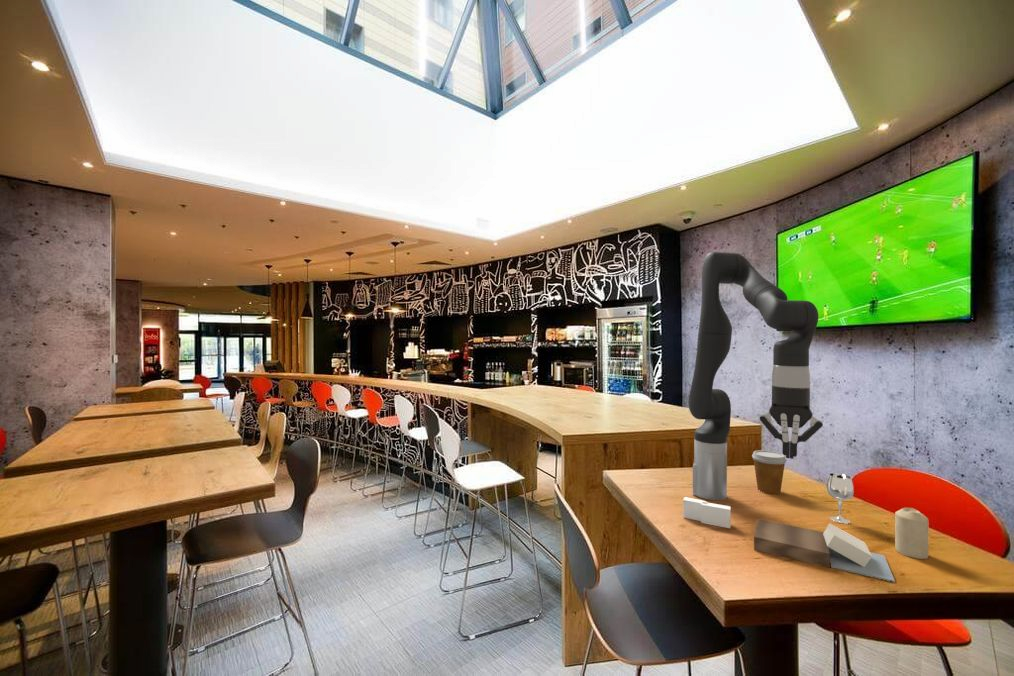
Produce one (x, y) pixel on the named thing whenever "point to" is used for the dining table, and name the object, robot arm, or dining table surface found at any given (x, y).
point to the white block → (847, 545)
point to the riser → (791, 542)
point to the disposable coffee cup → (769, 470)
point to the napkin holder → (706, 512)
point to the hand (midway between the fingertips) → (789, 457)
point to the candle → (911, 533)
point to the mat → (873, 568)
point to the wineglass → (840, 492)
